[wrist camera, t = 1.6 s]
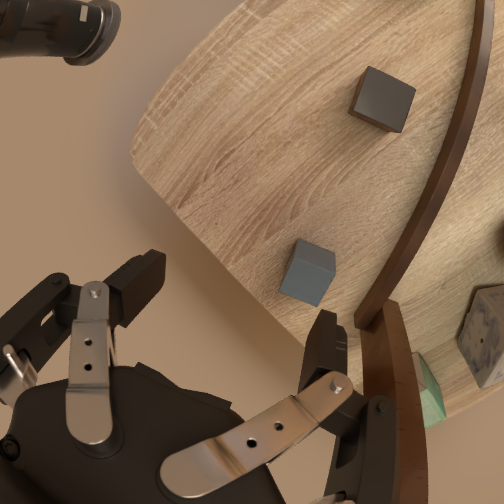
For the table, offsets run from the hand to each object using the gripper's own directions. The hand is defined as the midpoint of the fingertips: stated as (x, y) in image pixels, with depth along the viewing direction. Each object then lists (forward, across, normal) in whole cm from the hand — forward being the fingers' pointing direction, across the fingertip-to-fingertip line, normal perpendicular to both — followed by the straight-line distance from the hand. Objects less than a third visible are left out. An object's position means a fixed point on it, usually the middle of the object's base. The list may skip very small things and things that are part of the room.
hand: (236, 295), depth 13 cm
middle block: (+18, -6, -13) cm, 22 cm away
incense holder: (+18, -32, +5) cm, 37 cm away
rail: (+18, -15, -12) cm, 26 cm away
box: (+18, -29, +21) cm, 40 cm away
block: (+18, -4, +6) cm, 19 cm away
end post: (+18, -16, +10) cm, 26 cm away
